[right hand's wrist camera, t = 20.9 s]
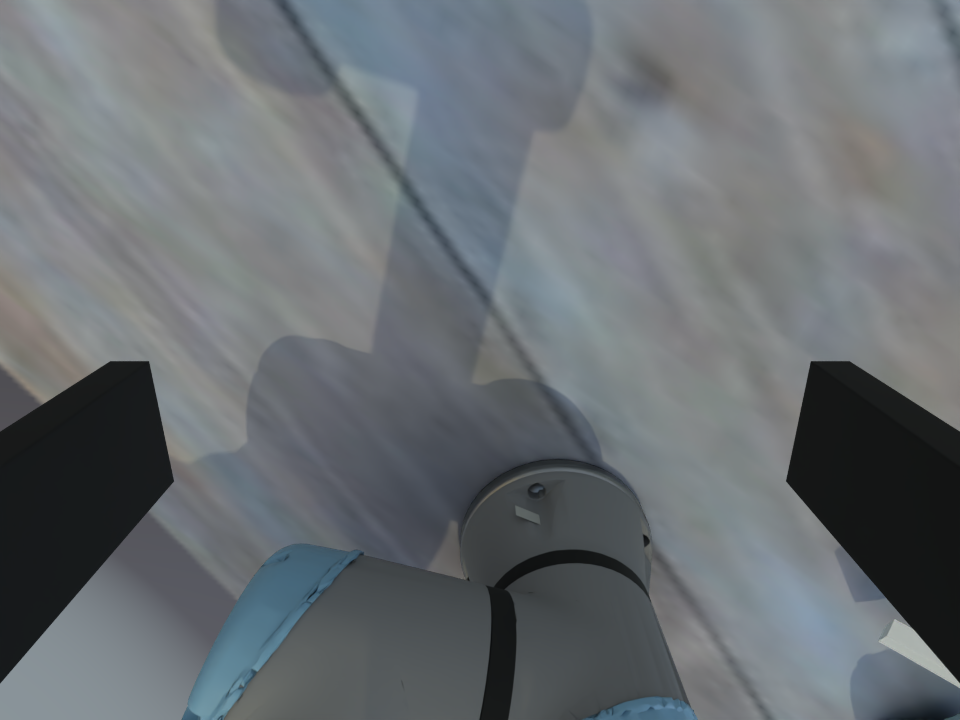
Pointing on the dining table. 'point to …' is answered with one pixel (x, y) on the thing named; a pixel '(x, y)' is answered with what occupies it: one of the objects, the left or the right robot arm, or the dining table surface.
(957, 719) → the lunch box
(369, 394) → the dining table surface
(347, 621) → the right robot arm
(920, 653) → the white plastic object
